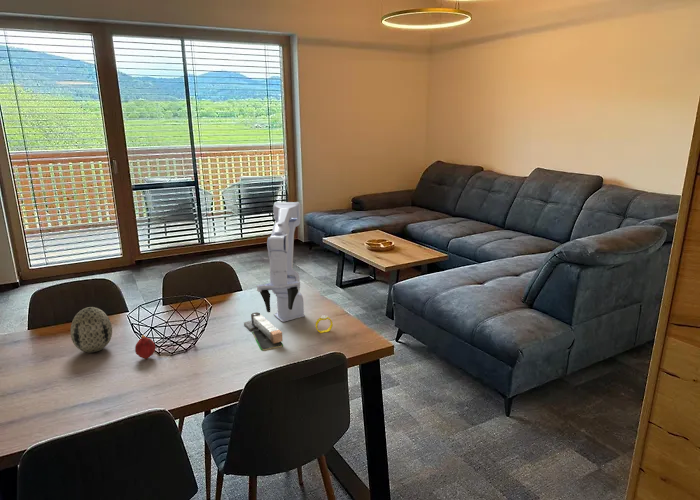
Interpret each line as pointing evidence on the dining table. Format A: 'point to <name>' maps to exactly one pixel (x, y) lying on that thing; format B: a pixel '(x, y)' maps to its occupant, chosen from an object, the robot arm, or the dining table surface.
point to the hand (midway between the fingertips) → (279, 310)
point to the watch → (324, 317)
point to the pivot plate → (250, 325)
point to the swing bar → (266, 327)
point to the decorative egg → (91, 330)
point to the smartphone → (265, 341)
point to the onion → (145, 347)
